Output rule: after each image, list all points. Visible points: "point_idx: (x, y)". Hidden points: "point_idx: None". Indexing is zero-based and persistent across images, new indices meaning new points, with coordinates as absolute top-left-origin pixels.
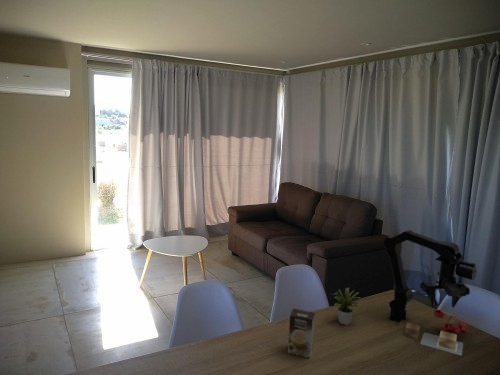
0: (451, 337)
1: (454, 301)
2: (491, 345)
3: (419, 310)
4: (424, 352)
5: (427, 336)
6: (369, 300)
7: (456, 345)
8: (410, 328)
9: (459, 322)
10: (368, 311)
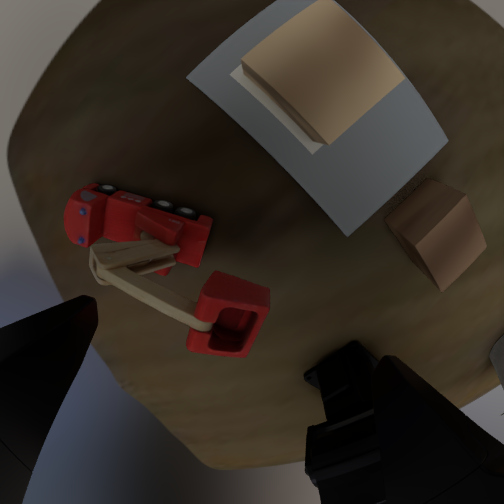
0: (322, 38)
1: (37, 357)
2: (49, 81)
3: (194, 401)
4: (453, 90)
5: (365, 189)
6: None
7: None
8: (479, 229)
9: (84, 245)
10: None
